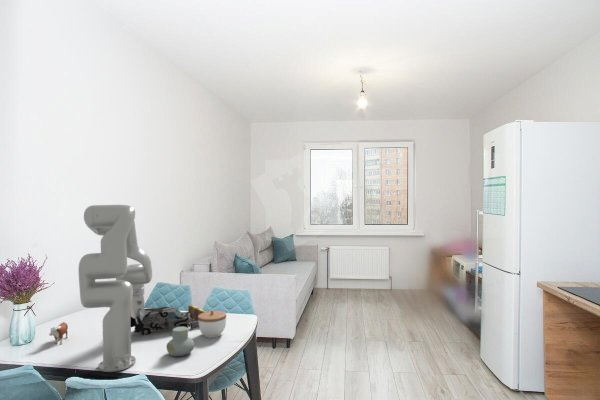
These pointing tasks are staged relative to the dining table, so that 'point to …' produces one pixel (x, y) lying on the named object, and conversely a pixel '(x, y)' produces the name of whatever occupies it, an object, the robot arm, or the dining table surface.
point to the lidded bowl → (212, 323)
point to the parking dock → (194, 315)
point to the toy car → (164, 319)
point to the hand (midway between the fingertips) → (135, 329)
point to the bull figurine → (59, 332)
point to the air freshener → (180, 342)
